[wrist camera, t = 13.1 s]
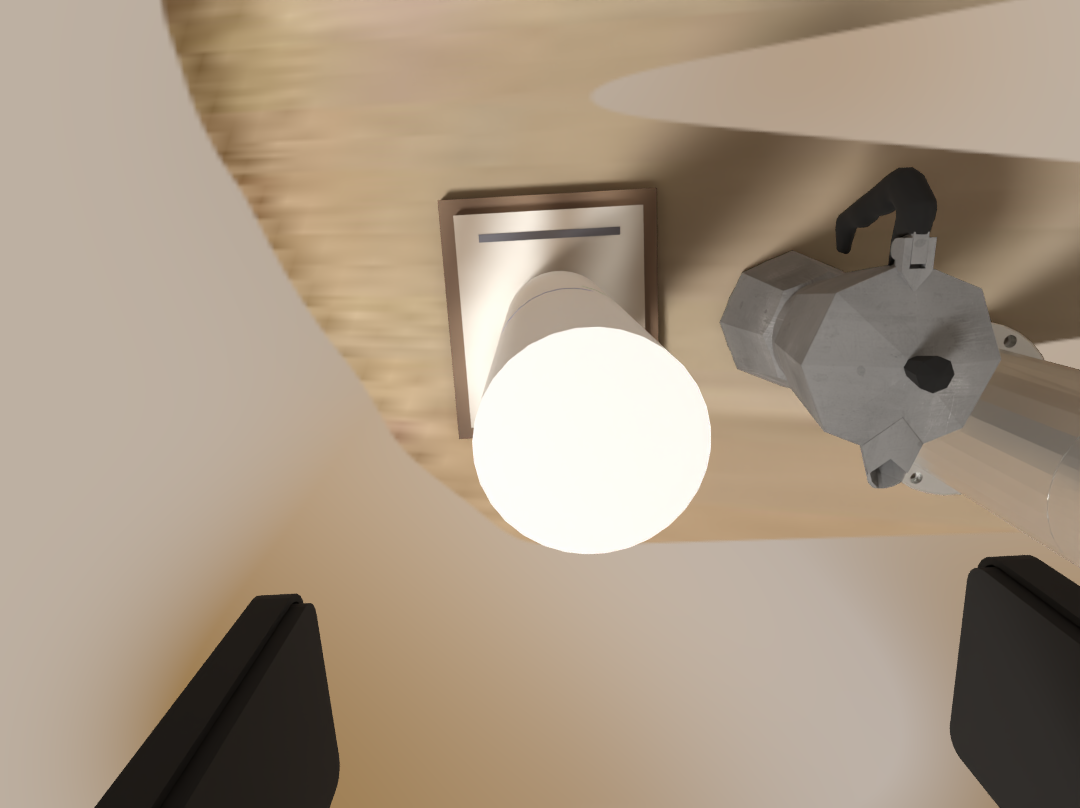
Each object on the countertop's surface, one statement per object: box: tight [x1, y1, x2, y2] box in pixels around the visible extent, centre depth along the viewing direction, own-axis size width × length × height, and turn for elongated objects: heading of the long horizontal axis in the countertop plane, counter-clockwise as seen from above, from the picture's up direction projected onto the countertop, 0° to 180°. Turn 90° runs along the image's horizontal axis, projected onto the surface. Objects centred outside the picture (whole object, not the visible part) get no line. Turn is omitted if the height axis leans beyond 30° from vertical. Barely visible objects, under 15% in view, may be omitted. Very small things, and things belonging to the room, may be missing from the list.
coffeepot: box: [720, 167, 1001, 488], centre depth 37 cm, size 15×9×18 cm, turn 2°
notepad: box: [438, 188, 658, 439], centre depth 45 cm, size 14×16×2 cm
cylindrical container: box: [472, 271, 711, 554], centre depth 32 cm, size 7×7×25 cm
